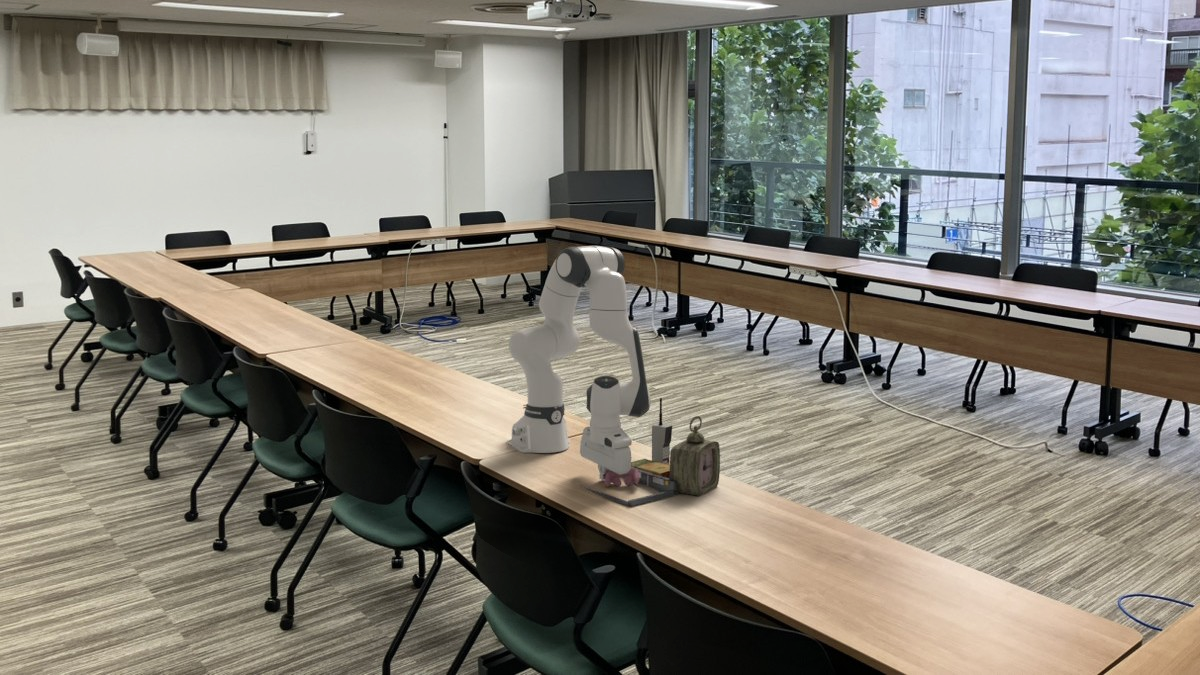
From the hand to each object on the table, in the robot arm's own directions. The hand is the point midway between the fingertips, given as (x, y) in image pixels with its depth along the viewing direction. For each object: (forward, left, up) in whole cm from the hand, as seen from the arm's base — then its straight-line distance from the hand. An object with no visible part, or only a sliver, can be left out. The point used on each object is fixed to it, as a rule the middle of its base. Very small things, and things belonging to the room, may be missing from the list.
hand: (604, 479), depth 294 cm
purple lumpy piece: (+8, 0, -1) cm, 8 cm away
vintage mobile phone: (-1, +23, -5) cm, 24 cm away
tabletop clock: (+20, +17, -6) cm, 27 cm away
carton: (+12, +14, -4) cm, 19 cm away
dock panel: (+9, 0, -1) cm, 9 cm away
